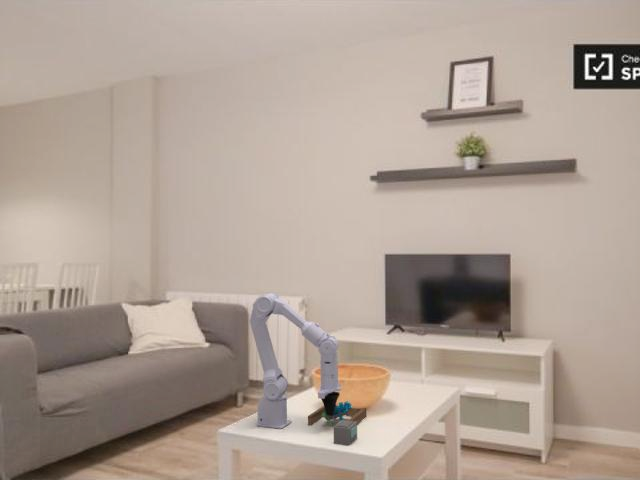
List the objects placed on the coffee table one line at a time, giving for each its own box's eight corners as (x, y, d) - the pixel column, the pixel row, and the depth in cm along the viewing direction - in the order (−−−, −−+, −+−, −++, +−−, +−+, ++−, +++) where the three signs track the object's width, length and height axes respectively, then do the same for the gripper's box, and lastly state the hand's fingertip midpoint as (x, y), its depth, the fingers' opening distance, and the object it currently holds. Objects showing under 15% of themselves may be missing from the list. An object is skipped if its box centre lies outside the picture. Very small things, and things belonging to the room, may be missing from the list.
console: (333, 443, 173) (333, 426, 173) (342, 436, 180) (341, 419, 180) (349, 445, 171) (349, 428, 171) (357, 438, 177) (357, 421, 177)
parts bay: (307, 425, 191) (307, 415, 191) (325, 412, 205) (325, 403, 205) (351, 430, 185) (350, 420, 185) (366, 417, 199) (366, 407, 199)
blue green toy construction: (346, 411, 200) (352, 396, 193) (353, 426, 196) (360, 411, 190) (317, 420, 195) (323, 405, 188) (324, 436, 192) (331, 421, 185)
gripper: (332, 379, 181) (332, 422, 181) (348, 370, 194) (349, 410, 194) (311, 378, 183) (312, 420, 183) (329, 368, 197) (330, 408, 197)
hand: (330, 415), depth 189 cm, fingers closed
